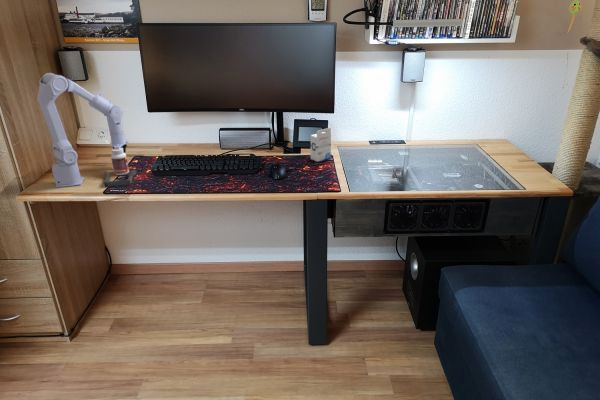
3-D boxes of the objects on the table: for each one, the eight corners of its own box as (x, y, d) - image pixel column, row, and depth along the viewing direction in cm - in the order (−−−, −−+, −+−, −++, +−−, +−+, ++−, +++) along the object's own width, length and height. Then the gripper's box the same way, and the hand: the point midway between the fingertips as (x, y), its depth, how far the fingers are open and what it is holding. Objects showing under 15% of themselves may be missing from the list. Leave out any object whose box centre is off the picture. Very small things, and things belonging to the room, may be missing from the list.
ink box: (324, 155, 210) (324, 125, 203) (331, 157, 206) (331, 127, 200) (310, 159, 205) (310, 128, 199) (316, 161, 202) (316, 130, 195)
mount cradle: (101, 187, 179) (99, 182, 178) (105, 176, 189) (104, 171, 188) (134, 184, 181) (133, 178, 180) (136, 173, 192) (135, 168, 191)
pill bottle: (131, 173, 192) (126, 149, 187) (116, 176, 189) (111, 152, 184) (127, 169, 197) (122, 145, 192) (113, 172, 194) (108, 148, 189)
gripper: (124, 136, 186) (130, 166, 192) (128, 126, 199) (133, 155, 205) (106, 137, 185) (113, 167, 191) (111, 128, 197) (117, 156, 203)
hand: (122, 161), depth 198 cm, fingers closed
